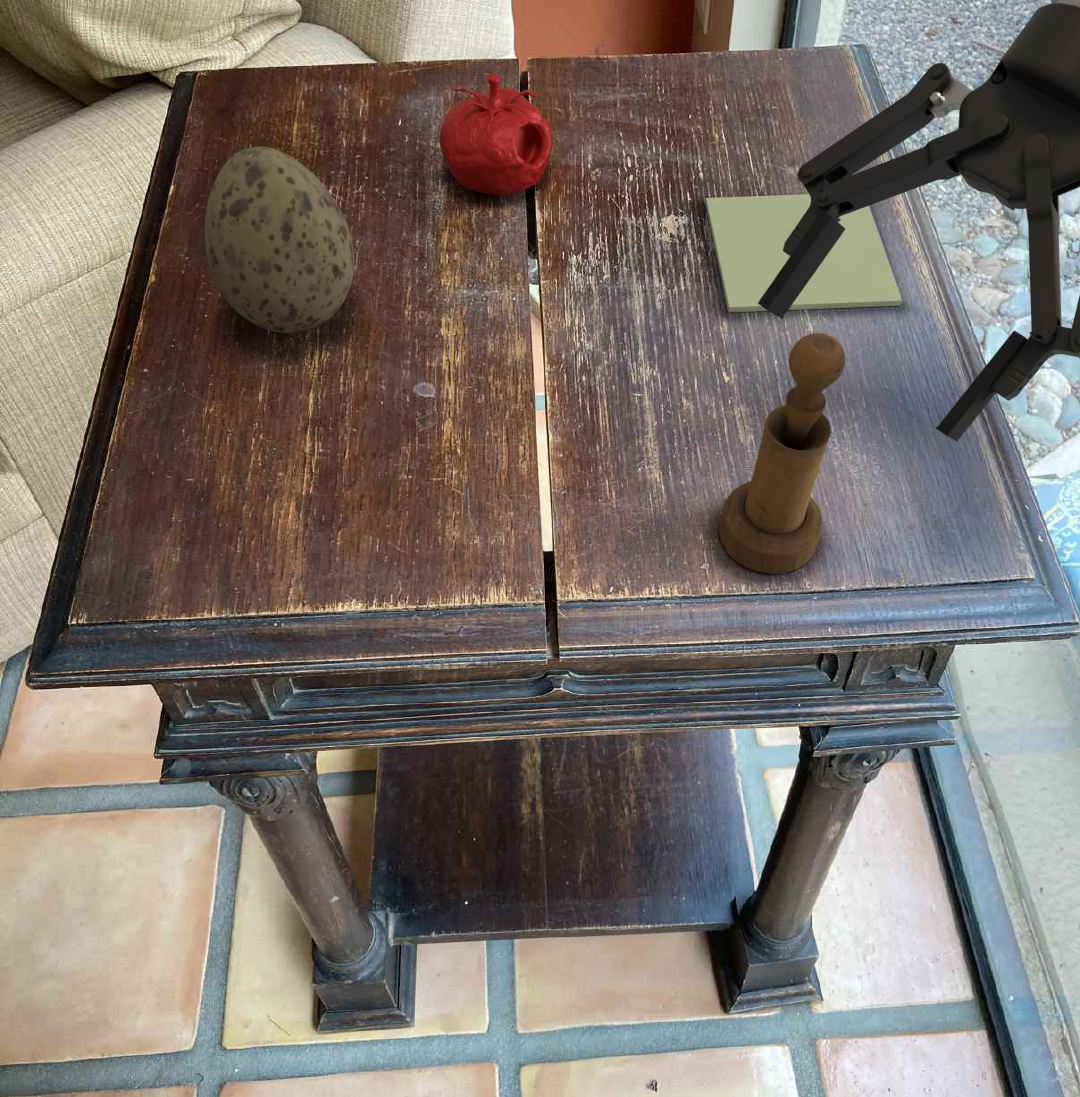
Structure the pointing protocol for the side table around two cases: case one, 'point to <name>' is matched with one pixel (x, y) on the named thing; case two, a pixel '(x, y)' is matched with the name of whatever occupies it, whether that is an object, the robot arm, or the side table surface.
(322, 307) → the decorative egg
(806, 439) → the mortar and pestle
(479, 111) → the red tomato
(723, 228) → the mat
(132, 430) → the side table surface
